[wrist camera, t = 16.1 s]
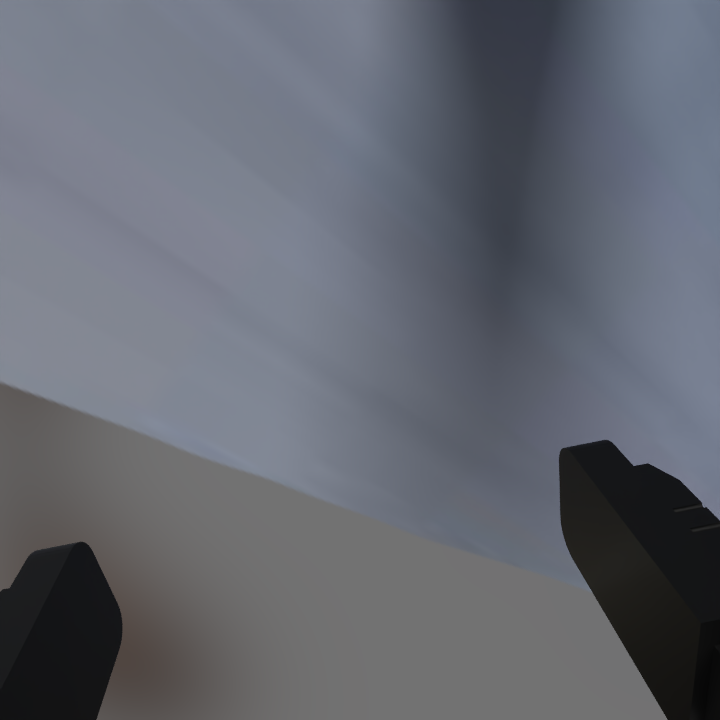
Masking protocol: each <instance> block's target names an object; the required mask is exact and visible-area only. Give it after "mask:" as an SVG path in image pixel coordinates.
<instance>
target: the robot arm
mask: <svg viewBox="0 0 720 720" xmlns="http://www.w3.org/2000/svg"><path fill="white" fill-rule="evenodd" d="M559 475H560V515H561V526H562V531H563V535H564V539H565V542H566V545H567V548H568V550H569V552H570V555H571V556H572V558H573V560H574V562H575V564H576V565H577V567H578V569H579V570H580V572H581V574H582V575H583V577H584V579H585V580H586V582H587V584H588V586H589V587H590V589H591V591H592V592H593V594H594V596H595V597H596V599H597V601H598V602H599V604H600V606H601V608H602V609H603V611H604V612H605V614H606V616H607V618H608V619H609V621H610V623H611V624H612V626H613V628H614V630H615V631H616V633H617V634H618V636H619V638H620V640H621V641H622V643H623V645H624V646H625V648H626V650H627V651H628V653H629V655H630V656H631V658H632V660H633V662H634V663H635V665H636V667H637V668H638V670H639V672H640V673H641V675H642V677H643V679H644V680H645V682H646V684H647V685H648V687H649V689H650V690H651V692H652V694H653V695H654V697H655V699H656V701H657V702H658V704H659V706H660V707H661V709H662V711H663V712H664V714H665V716H666V718H667V719H668V720H720V521H719V519H718V518H717V517H716V516H715V515H714V514H713V513H712V512H711V511H710V510H709V509H708V508H707V507H705V508H704V507H703V506H702V502H701V501H700V500H699V499H698V498H697V497H696V496H695V495H694V494H693V493H692V492H691V491H690V490H689V489H688V488H687V487H686V486H685V485H684V484H683V483H682V482H681V481H680V480H678V479H677V478H675V477H673V476H671V475H669V474H667V473H665V472H663V471H661V470H660V469H658V468H656V467H654V466H652V465H650V464H643V465H638V466H633V465H632V464H631V463H630V462H629V461H628V459H627V458H626V457H625V456H624V455H623V454H622V453H621V452H620V451H619V449H618V448H617V447H616V446H615V445H614V444H613V443H612V442H610V441H609V440H602V441H597V442H592V443H587V444H582V445H577V446H572V447H567V448H563V449H561V451H560V455H559ZM121 640H122V617H121V612H120V609H119V606H118V603H117V601H116V599H115V597H114V595H113V593H112V591H111V589H110V587H109V585H108V582H107V580H106V578H105V576H104V574H103V572H102V570H101V568H100V566H99V564H98V562H97V559H96V557H95V555H94V553H93V551H92V549H91V548H90V547H89V545H87V544H86V543H84V542H77V543H72V544H67V545H62V546H57V547H52V548H47V549H42V550H37V551H34V552H33V553H32V554H30V556H29V557H28V558H27V560H26V561H25V563H24V565H23V566H22V568H21V570H20V572H19V573H18V575H17V577H16V578H15V580H14V582H13V583H12V585H11V587H10V588H9V589H3V590H2V591H1V592H0V720H96V719H97V716H98V713H99V710H100V707H101V704H102V701H103V697H104V695H105V692H106V688H107V685H108V682H109V679H110V676H111V673H112V670H113V667H114V664H115V661H116V657H117V655H118V651H119V648H120V645H121Z"/></svg>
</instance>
